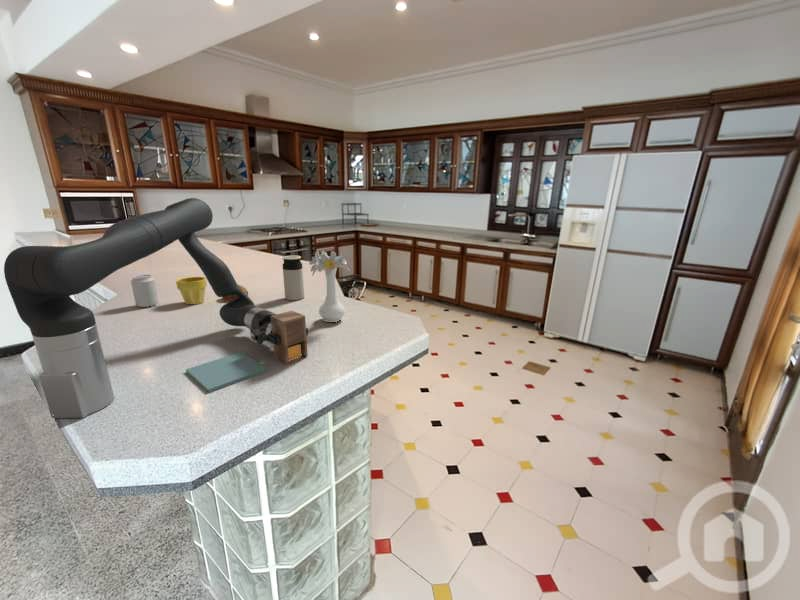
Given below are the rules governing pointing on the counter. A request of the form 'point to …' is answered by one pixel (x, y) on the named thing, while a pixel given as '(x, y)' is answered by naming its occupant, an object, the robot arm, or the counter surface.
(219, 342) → the counter surface
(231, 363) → the teal mat
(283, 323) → the walnut cover
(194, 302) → the plant pot
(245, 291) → the bread roll
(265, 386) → the counter surface
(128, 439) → the counter surface
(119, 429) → the counter surface
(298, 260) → the travel mug
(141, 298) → the can
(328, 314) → the flower vase
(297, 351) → the orange block
